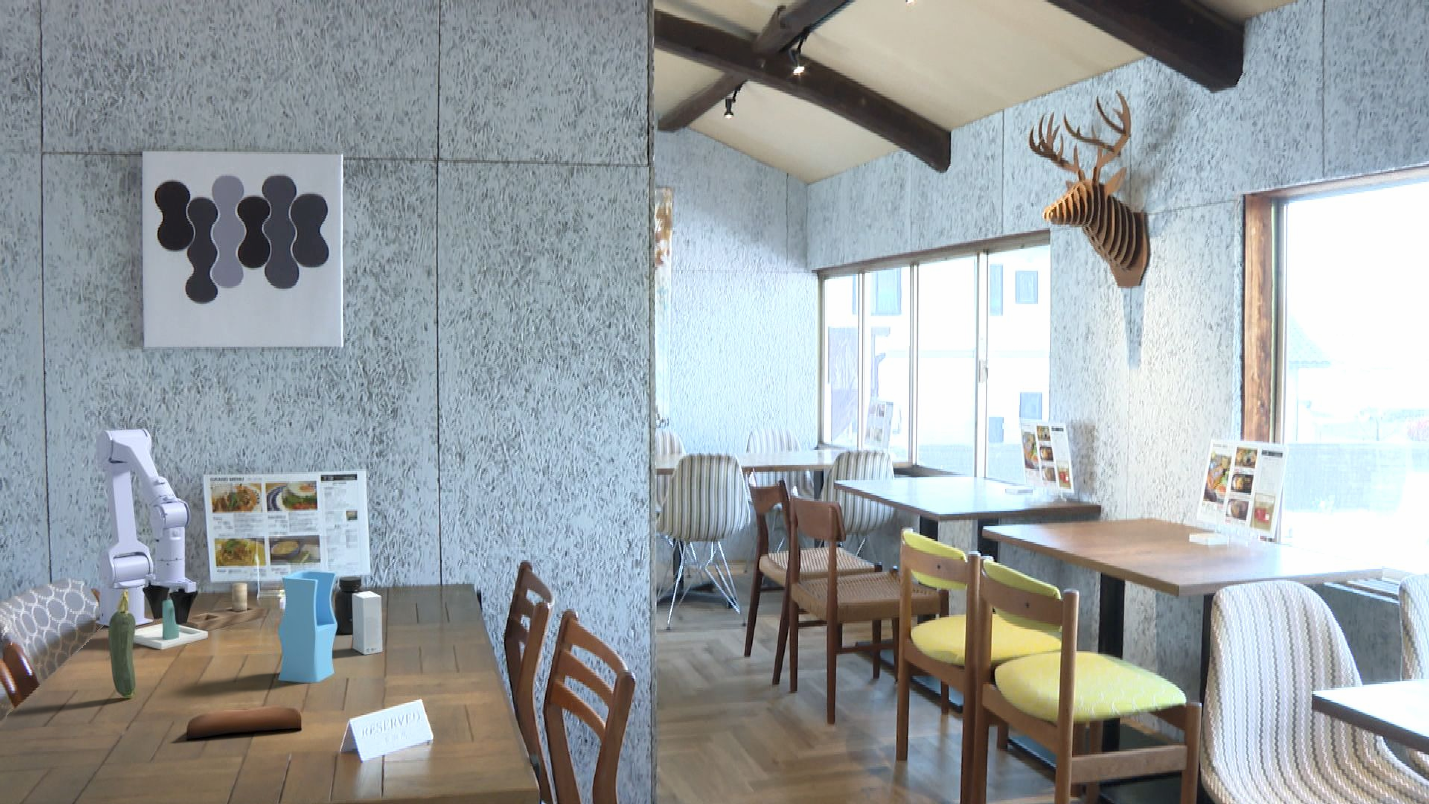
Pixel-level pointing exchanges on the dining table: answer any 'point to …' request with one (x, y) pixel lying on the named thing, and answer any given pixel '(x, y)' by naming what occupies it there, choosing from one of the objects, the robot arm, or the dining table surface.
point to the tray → (154, 639)
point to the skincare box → (367, 622)
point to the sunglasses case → (243, 721)
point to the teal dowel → (169, 621)
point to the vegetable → (122, 647)
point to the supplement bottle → (345, 603)
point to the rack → (223, 618)
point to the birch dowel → (239, 597)
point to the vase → (307, 627)
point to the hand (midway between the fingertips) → (170, 620)
